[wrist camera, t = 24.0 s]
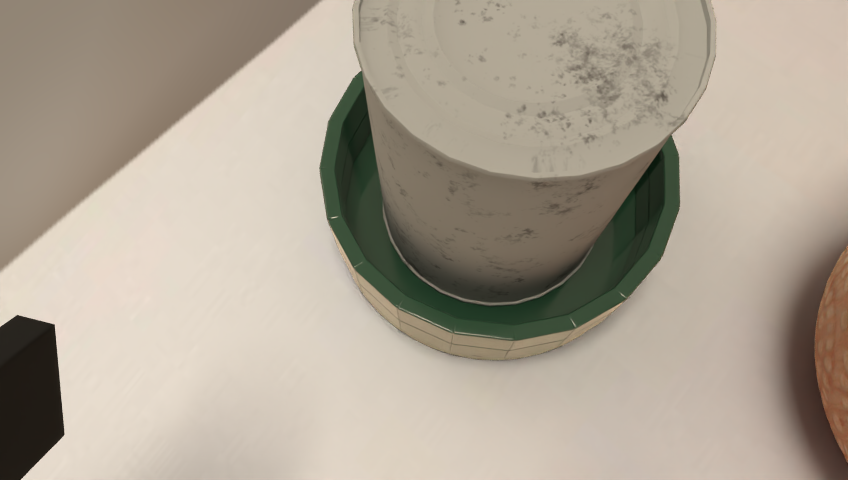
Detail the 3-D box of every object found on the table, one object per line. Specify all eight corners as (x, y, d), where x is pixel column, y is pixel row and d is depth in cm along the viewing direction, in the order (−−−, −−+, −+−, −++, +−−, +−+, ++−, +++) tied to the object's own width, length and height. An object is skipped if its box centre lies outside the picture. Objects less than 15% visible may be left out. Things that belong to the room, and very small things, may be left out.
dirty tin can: (401, 325, 27) (381, 209, 15) (367, 124, 30) (329, -97, 19) (626, 285, 27) (772, 144, 16) (569, 92, 31) (655, -143, 19)
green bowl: (311, 339, 27) (290, 314, 23) (361, 64, 32) (351, 0, 28) (642, 379, 27) (682, 360, 23) (644, 91, 32) (677, 31, 27)
